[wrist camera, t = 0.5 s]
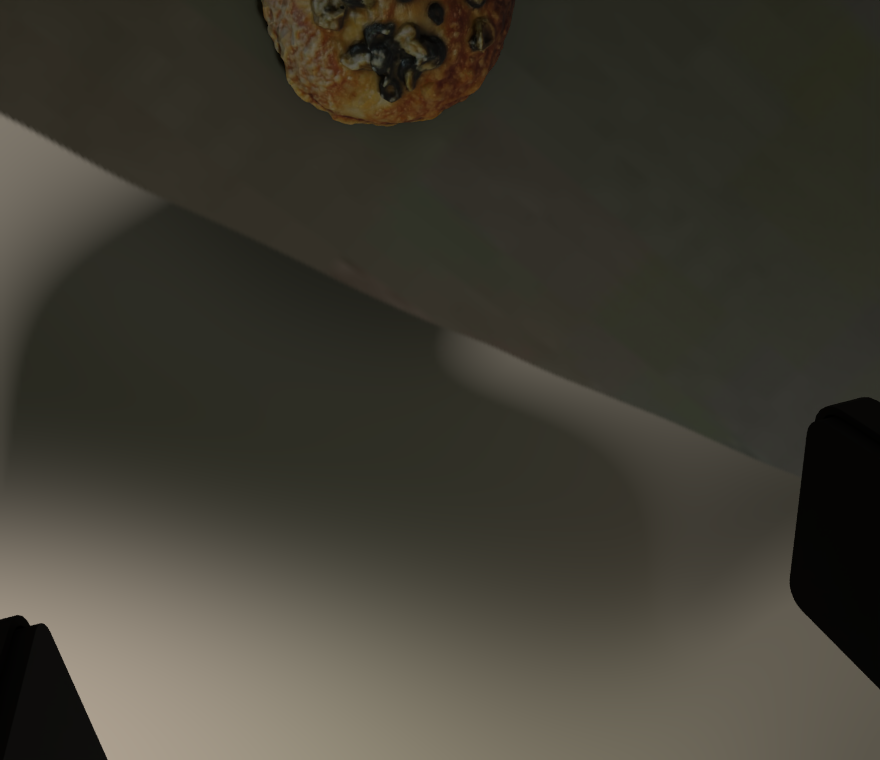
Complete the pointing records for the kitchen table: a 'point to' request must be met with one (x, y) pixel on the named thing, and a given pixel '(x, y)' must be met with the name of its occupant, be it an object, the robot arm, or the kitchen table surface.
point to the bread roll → (387, 53)
